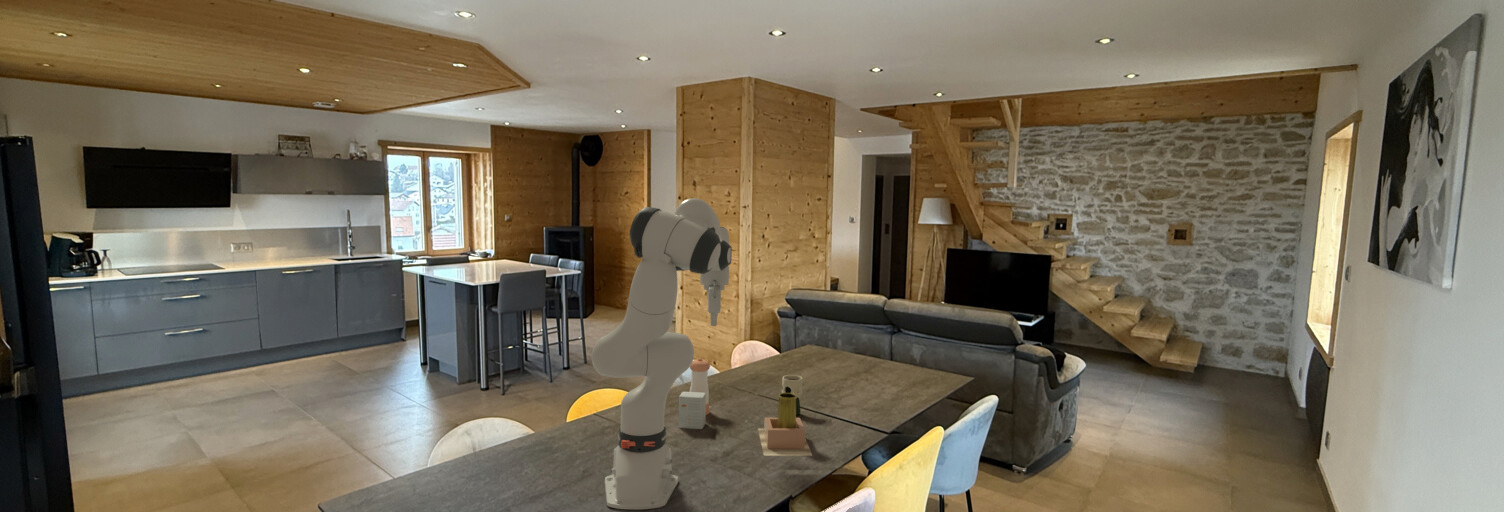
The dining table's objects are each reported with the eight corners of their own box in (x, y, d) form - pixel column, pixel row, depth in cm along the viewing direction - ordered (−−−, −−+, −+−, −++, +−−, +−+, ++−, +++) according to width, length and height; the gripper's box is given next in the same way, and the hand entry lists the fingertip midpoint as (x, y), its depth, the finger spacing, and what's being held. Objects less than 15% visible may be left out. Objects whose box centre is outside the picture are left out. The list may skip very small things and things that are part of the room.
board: (812, 459, 186) (812, 455, 186) (763, 459, 185) (763, 455, 185) (801, 431, 208) (801, 428, 208) (757, 431, 207) (757, 428, 207)
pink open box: (804, 448, 191) (805, 430, 191) (767, 448, 190) (767, 430, 190) (799, 434, 202) (799, 417, 202) (764, 434, 201) (764, 417, 201)
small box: (705, 423, 213) (706, 392, 212) (702, 429, 207) (703, 397, 206) (681, 422, 213) (682, 390, 213) (678, 428, 208) (678, 396, 207)
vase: (796, 445, 193) (798, 398, 192) (776, 444, 193) (777, 398, 192) (795, 437, 199) (796, 392, 198) (775, 437, 199) (776, 392, 198)
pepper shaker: (684, 414, 221) (685, 359, 219) (692, 408, 228) (694, 354, 226) (704, 417, 219) (706, 361, 217) (712, 410, 226) (713, 356, 224)
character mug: (774, 411, 228) (775, 374, 227) (791, 408, 231) (792, 372, 230) (791, 420, 218) (792, 382, 217) (808, 417, 222) (810, 380, 221)
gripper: (725, 283, 191) (724, 329, 192) (723, 274, 211) (722, 317, 212) (704, 282, 190) (703, 329, 191) (704, 274, 210) (703, 316, 212)
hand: (713, 322), depth 202 cm, fingers open, 8 cm apart
